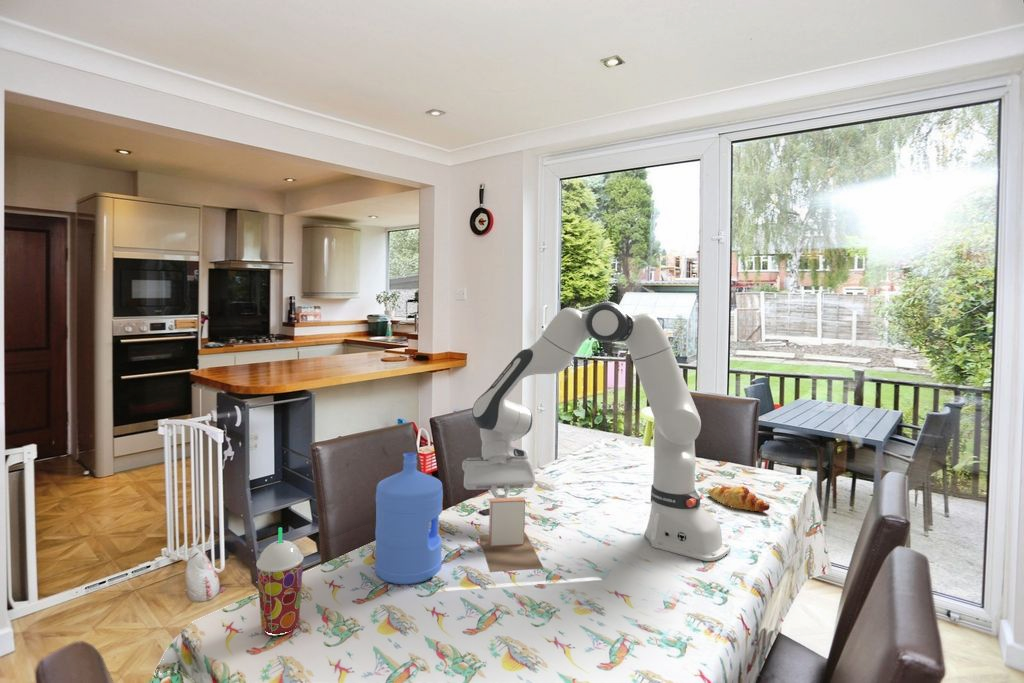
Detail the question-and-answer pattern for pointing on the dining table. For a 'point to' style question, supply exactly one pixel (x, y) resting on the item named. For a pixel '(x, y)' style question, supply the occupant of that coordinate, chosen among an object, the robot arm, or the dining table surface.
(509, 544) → the terracotta tile
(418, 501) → the water jug
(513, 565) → the walnut board
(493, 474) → the robot arm
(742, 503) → the croissant
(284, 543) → the smoothie
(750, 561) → the dining table surface
